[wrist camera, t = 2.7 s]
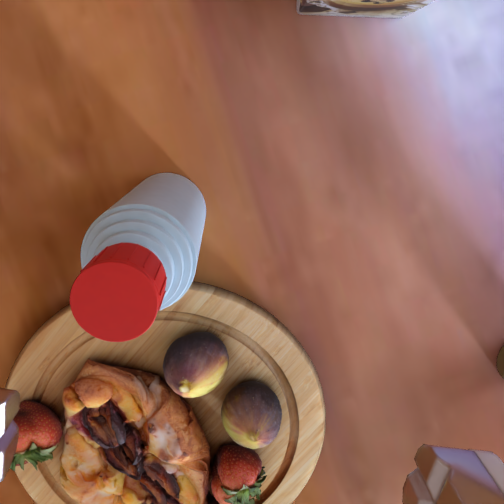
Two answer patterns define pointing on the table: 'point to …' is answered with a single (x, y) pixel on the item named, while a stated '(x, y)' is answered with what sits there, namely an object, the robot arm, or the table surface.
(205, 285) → the wooden plate
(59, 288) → the table surface
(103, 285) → the cap
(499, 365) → the olive pawn
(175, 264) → the bottle
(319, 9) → the coffee box
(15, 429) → the robot arm
